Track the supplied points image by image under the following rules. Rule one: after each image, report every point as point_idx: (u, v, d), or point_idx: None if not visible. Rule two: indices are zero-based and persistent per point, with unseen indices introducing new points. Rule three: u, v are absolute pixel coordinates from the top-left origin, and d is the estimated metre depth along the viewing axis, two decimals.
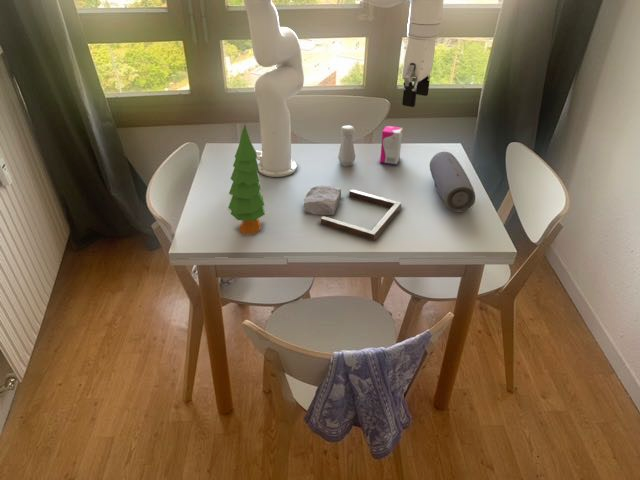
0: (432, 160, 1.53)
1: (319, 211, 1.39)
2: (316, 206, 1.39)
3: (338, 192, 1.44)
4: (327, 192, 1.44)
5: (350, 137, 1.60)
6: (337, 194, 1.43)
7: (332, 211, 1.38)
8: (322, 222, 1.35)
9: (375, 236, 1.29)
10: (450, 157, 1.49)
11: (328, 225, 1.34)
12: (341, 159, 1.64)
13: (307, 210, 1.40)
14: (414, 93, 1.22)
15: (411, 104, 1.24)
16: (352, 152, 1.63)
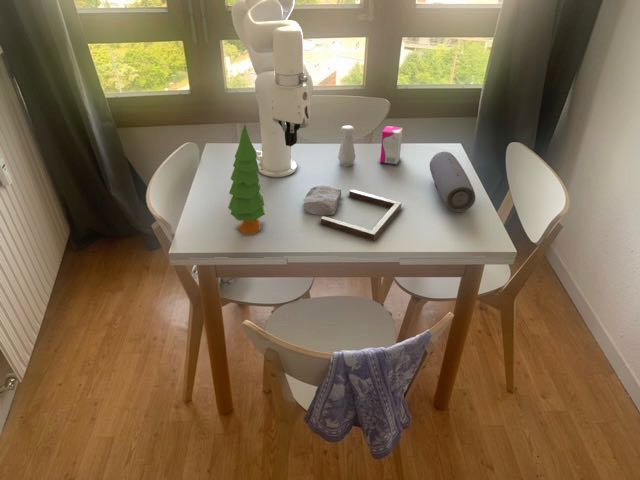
0: (432, 160, 1.53)
1: (319, 211, 1.39)
2: (316, 206, 1.39)
3: (338, 192, 1.44)
4: (327, 191, 1.44)
5: (350, 137, 1.60)
6: (337, 194, 1.43)
7: (332, 211, 1.38)
8: (322, 222, 1.35)
9: (375, 236, 1.29)
10: (450, 157, 1.49)
11: (328, 225, 1.34)
12: (341, 159, 1.64)
13: (307, 210, 1.40)
14: None
15: None
16: (352, 152, 1.63)
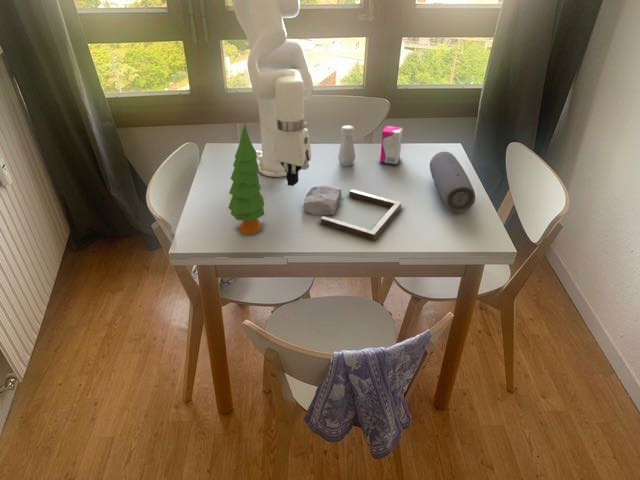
0: (432, 160, 1.53)
1: (319, 211, 1.39)
2: (316, 206, 1.39)
3: (338, 192, 1.44)
4: (327, 191, 1.44)
5: (350, 137, 1.60)
6: (337, 194, 1.43)
7: (332, 211, 1.38)
8: (322, 222, 1.35)
9: (375, 236, 1.29)
10: (450, 157, 1.49)
11: (328, 225, 1.34)
12: (341, 159, 1.64)
13: (307, 210, 1.40)
14: None
15: None
16: (352, 152, 1.63)
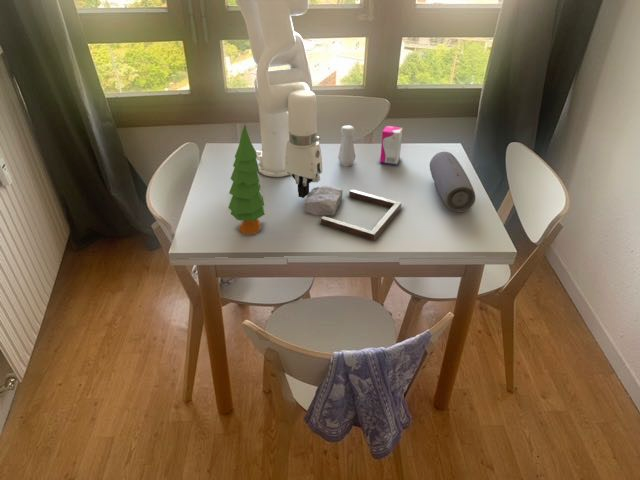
0: (432, 160, 1.53)
1: (320, 211, 1.39)
2: (317, 207, 1.39)
3: (339, 193, 1.44)
4: (328, 192, 1.44)
5: (350, 137, 1.60)
6: (338, 195, 1.43)
7: (333, 212, 1.38)
8: (322, 222, 1.35)
9: (375, 236, 1.29)
10: (450, 157, 1.49)
11: (328, 225, 1.34)
12: (341, 159, 1.64)
13: (308, 210, 1.40)
14: None
15: None
16: (352, 152, 1.63)
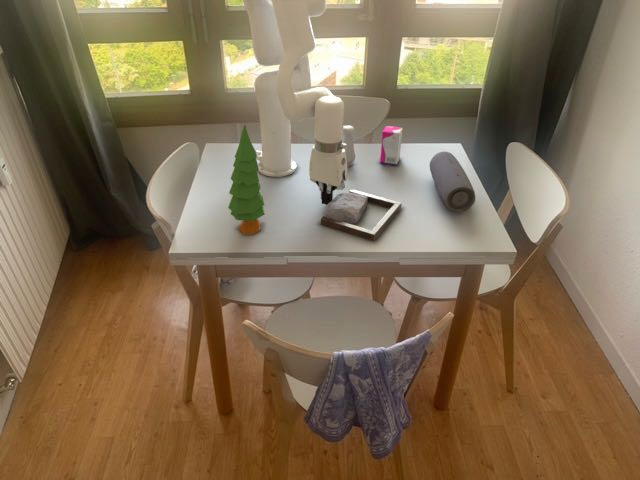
0: (432, 160, 1.53)
1: (342, 218, 1.36)
2: (340, 213, 1.36)
3: (364, 200, 1.40)
4: (353, 199, 1.40)
5: (350, 137, 1.60)
6: (362, 202, 1.39)
7: (355, 219, 1.35)
8: (322, 222, 1.35)
9: (375, 236, 1.29)
10: (450, 157, 1.49)
11: (328, 225, 1.34)
12: None
13: (330, 217, 1.37)
14: None
15: None
16: (352, 152, 1.63)
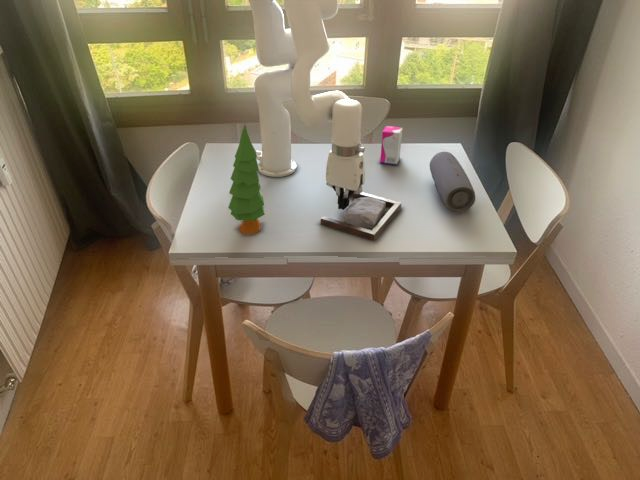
0: (432, 160, 1.53)
1: (360, 224, 1.34)
2: (357, 219, 1.34)
3: (382, 205, 1.38)
4: (371, 204, 1.38)
5: None
6: (381, 207, 1.37)
7: (373, 225, 1.33)
8: (322, 222, 1.35)
9: (375, 236, 1.29)
10: (450, 157, 1.49)
11: (328, 225, 1.34)
12: None
13: (347, 222, 1.35)
14: None
15: None
16: None
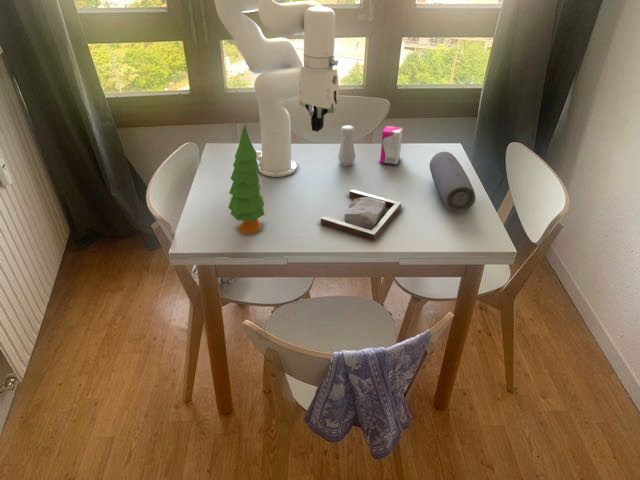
0: (432, 160, 1.53)
1: (360, 224, 1.34)
2: (357, 219, 1.34)
3: (382, 205, 1.38)
4: (371, 204, 1.38)
5: (350, 137, 1.60)
6: (381, 207, 1.37)
7: (373, 225, 1.33)
8: (322, 222, 1.35)
9: (375, 236, 1.29)
10: (450, 157, 1.49)
11: (328, 225, 1.34)
12: (341, 159, 1.64)
13: (347, 222, 1.35)
14: None
15: None
16: (352, 152, 1.63)
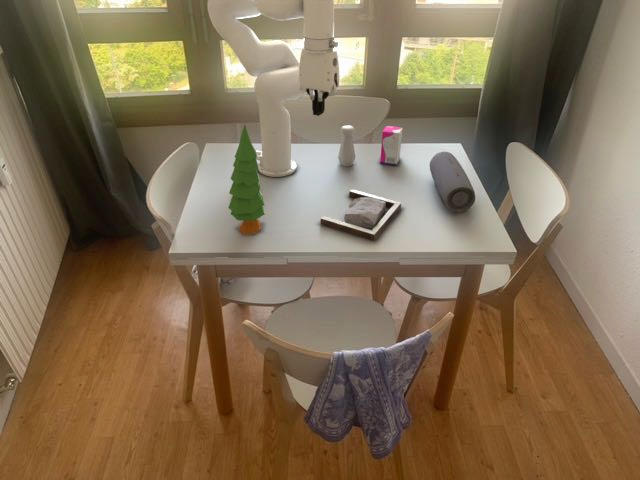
0: (432, 160, 1.53)
1: (360, 224, 1.34)
2: (357, 219, 1.34)
3: (382, 205, 1.38)
4: (371, 204, 1.38)
5: (350, 137, 1.60)
6: (381, 207, 1.37)
7: (373, 225, 1.33)
8: (322, 222, 1.35)
9: (375, 236, 1.29)
10: (450, 157, 1.49)
11: (328, 225, 1.34)
12: (341, 159, 1.64)
13: (347, 222, 1.35)
14: None
15: None
16: (352, 152, 1.63)
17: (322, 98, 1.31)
